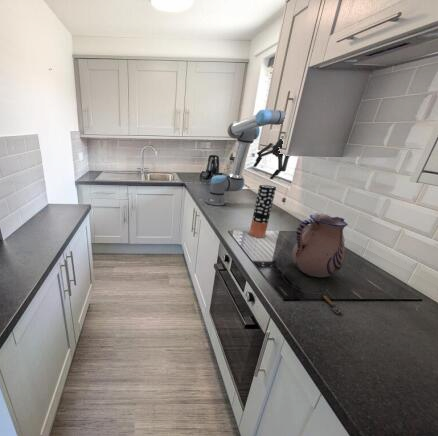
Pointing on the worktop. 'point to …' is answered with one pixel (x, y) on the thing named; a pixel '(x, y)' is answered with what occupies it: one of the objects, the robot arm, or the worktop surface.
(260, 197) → the spotted tube
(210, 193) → the robot arm
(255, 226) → the cup
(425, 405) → the worktop surface
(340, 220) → the ceramic pitcher
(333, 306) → the can opener
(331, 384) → the worktop surface
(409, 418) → the worktop surface
